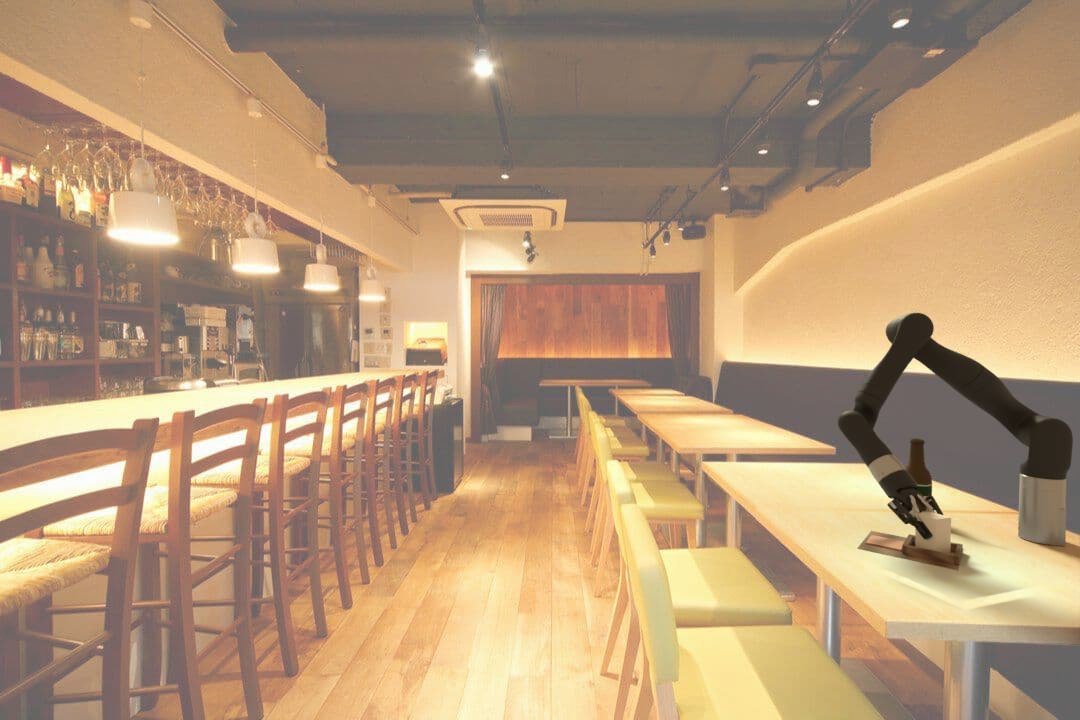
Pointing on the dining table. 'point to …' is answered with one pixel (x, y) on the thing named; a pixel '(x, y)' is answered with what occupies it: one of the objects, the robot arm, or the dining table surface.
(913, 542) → the puzzle board
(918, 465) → the beer bottle
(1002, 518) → the dining table surface
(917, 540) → the cream block
